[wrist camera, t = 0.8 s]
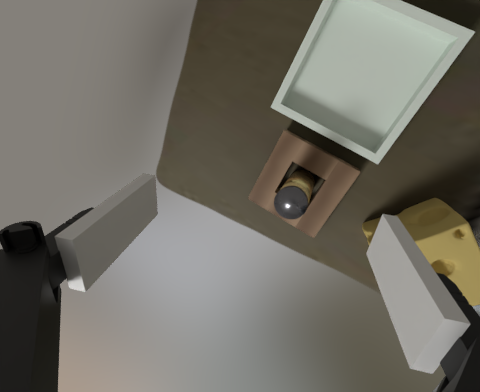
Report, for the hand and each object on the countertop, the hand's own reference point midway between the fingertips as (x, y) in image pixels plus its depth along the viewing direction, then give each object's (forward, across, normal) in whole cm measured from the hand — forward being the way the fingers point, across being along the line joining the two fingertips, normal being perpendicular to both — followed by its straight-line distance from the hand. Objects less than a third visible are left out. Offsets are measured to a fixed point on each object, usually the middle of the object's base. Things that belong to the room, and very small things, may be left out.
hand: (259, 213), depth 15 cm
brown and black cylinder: (+26, -5, +8) cm, 27 cm away
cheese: (+22, -22, +13) cm, 34 cm away
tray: (+27, -9, -7) cm, 29 cm away
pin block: (+26, -5, +8) cm, 27 cm away
